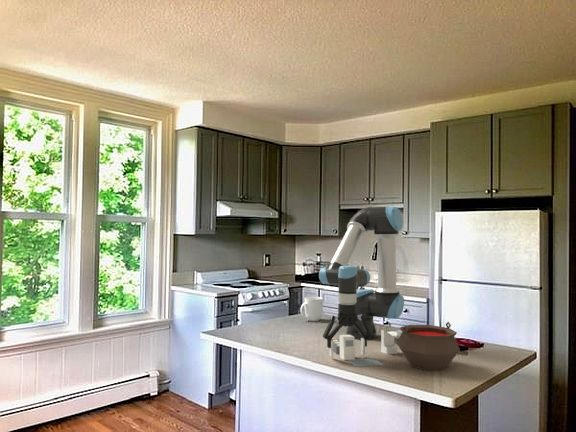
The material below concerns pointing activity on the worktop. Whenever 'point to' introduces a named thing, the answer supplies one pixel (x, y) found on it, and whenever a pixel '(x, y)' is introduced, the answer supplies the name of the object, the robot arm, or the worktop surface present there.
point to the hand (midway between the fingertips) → (347, 355)
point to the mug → (312, 308)
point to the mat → (365, 362)
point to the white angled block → (387, 343)
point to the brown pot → (428, 346)
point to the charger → (347, 347)
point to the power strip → (336, 345)
